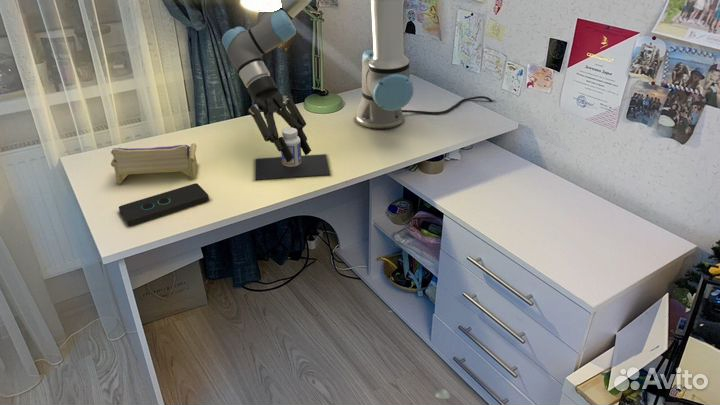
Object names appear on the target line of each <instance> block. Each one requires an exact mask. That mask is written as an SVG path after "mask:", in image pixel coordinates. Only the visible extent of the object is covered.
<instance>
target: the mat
mask: <svg viewBox="0 0 720 405" xmlns="http://www.w3.org/2000/svg"><path fill="white" fill-rule="evenodd" d="M301 159H302V160H301V163H300V164H299V165H297V166H293V167H288V166H285V165H283V163H282V156H279V157H263V158H255V181H267V180H281V179H282V180H283V179H295V178H296V179H297V178H310V177H325V176H326V177H327V176H331V172H330V168H329V162H328V159H327V154H325V153H323V154H322V153H321V154H308V155H301Z"/></svg>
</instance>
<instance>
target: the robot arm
mask: <svg viewBox="0 0 720 405" xmlns="http://www.w3.org/2000/svg"><path fill="white" fill-rule="evenodd" d="M312 1H313V0H281V3H282V8H280V9H279V10H277V11H274V12H259V11H258V13H257V24H255V25H254V26H253V27H251V28H250V29H246V28H245V27H243V26H235V27H233V28H230V29H229V30H227V31H225V33H224V34H223V35H222V38H221V43H222V46H223V47H224V51H225V52H226V55H227V56H228V58H229V60H230V62H231V63H232V65H233V67H234V69H235V70H236V72H237V75H238V76H239V77H240V80H241V81H242V82H243V85H244V86H245V88H246V90H247V92H248V95H249V96H250V98H251V100H252V101H253V102H254V104H252V105H251V106H250V107H249V108H248V110H247V113H248V114H249V115H250V116H251V117H252V118H253V120H254V122H255V124H256V126H257V128H258V130H259V132H260V134H261V136H262V138H263V140H264V142H270V143H271V144H274V146H275V147H276V150H277V151H278V152H279V153H281V152H282V154H283V156H284V157H285V159H286V161H287V163H288V162H290V161H291V160H292V159H293V156H292V154H291V152H290V150H289V148H288V147H287V145H286V143H285V141H284V139H283V138H282V137H283V136H279V132H278V128H277V125H276V120H275V117H274V113H275V114H277V115H278V116H280V117H281V118H282V119H283V121H285V123H286V124H287V125H288V126H289V128H295V129H297V133H298V135H297V136H298V137H299V138H300V142H301V151H302V152H303V154H304V156H307V155H310V153H311V152H312V149H311V147H310V145H309V143H308V136H307V134H305V132H304V128H305V127H306V126H307V122H306V120H305V118H304V117H303V115H302V113H301V112H300V110H299V108H298V107H297V105H296V103H295V101H294V98H293V95H292V94H291V93H288V95H283V94H282V93H281V92H280V91H279V89H278V85H277V84H276V83H275V80H274V79H273V76H271V73H270V71H269V69H268V67H267V66H266V64H265V63H264V61H263V59H262V57H263V56H265V55H266V54H267V53H270V52H271V51H272V50H274V49H276V48H277V47H279V46H281V45H283V44H284V43H286V42H288V41H290V39H291V38H293V37H294V36H296V34H297V29H296V26H295V25H294V23H293V21H292V20H293V19H294V18H295V17H296V16H297V15H298V14H299V13H300V12H301V11H303V10H304V9H305V8H306V7H307V6H308V5H309V4H311V2H312ZM403 1H404V0H370V10H371V11H370V12H371V30H372V31H371V32H372V49H367V50H365V51H364V52H363V53H362V56H361V63H362V64H361V68H362V69H361V99H360V102H359V105H358V107H357V111H356V117H355V120H356V123H358V124H359V125H360V126H362V127H364V128H367V129H368V128H369V129H374V130H386V129H392V128H395V127H398V126H400V125H401V124H402V123H403V121H404V113H412V114H426V115H441V114H446V113H449V112H450V111H452V110H453V109H455V108H457V107H458V106H459V105H460V104H461V103H463V102H466V101H471V100H476V99H484V100H487V101H489V102H491V103H493V102H494V100H492V98H490V97H488V96H485V95H478V96H471V97H466V98H462V99H461V100H459V101H458V102H457V103H456V104H454V105H452V106H451V107H449V108H447V109H445V110H439V111H429V110H428V111H427V110H411V109H403V108H405V107H406V105H408V104H409V103H410V101H411V100H412V98H413V95H414V85H413V82H412V80H411V77H410V59H409V58H408V57H407V56H406V55H405V51H404V50H405V49H404V48H405V47H404V46H405V45H404V2H403ZM261 112H262V113H263V115H262V113H261Z"/></svg>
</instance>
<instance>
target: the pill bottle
mask: <svg viewBox="0 0 720 405" xmlns="http://www.w3.org/2000/svg"><path fill="white" fill-rule="evenodd" d="M297 135H298V133H297V129H295V128H291V127H285V128H283V129H282V132H281V137H282V138H283V139H284V141H285V143H286V145H287V147H288V148H289V150H290V152H291V154H292V156H293V159H292V160H291V161H290V162H288V163H287V161H286V159H285V157H284V156H283V154H282V152H281V151H280V154H281V156H280V157H282V163H283V165H285V166H288V167H293V166H297V165H299V164H300V163H301V160H302V159H301V156H302V149H301V142H300V138H299V137H298V136H297Z"/></svg>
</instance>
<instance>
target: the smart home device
mask: <svg viewBox="0 0 720 405" xmlns="http://www.w3.org/2000/svg"><path fill="white" fill-rule="evenodd" d="M209 201H210V197H209V194H208V193H207V192H206V191H205V190H204V189H203V187H201V185H199V183H198V182H197V183H191V184H188V185H184V186H182V187H178V188H174V189H171V190H168V191H164V192H161V193H158V194H155V195H154V194H153V195H151V196H148V197H145V198H141V199H138V200H134V201H131V202H127V203H125V204H121V205H119V206H118V210H119V214H120V215H121V216H122V218H123V219H124V221H125V223H126V224H127V226H129V227H132V226H136V225H139V224H143V223H146V222H149V221H152V220H156V219H159V218H162V217H164V216H167V215H170V214H171V215H172V214H174V213H177V212H180V211H183V210H187V209H189V208H193V207H196V206H199V205H202V204H204V203H208V202H209Z"/></svg>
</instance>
